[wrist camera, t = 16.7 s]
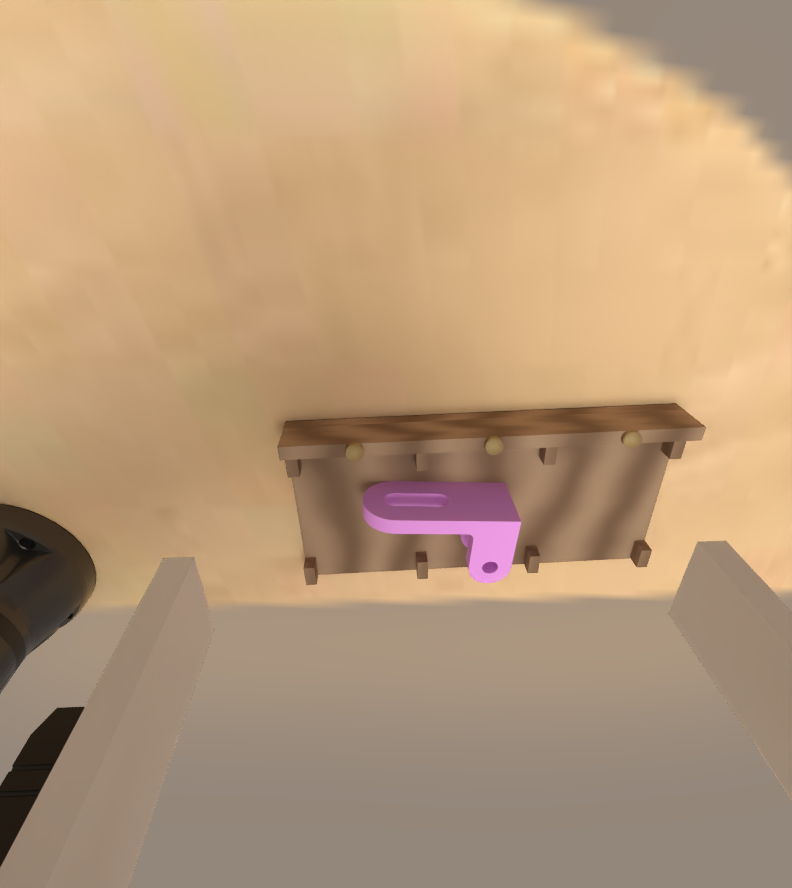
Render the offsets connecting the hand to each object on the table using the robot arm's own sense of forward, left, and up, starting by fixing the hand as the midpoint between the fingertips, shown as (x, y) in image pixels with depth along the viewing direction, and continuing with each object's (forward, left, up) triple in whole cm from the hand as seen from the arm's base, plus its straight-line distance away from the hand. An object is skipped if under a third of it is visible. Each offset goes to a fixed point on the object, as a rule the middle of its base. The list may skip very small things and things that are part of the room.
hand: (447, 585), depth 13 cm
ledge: (+7, -18, -28) cm, 34 cm away
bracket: (+3, -15, -24) cm, 28 cm away
